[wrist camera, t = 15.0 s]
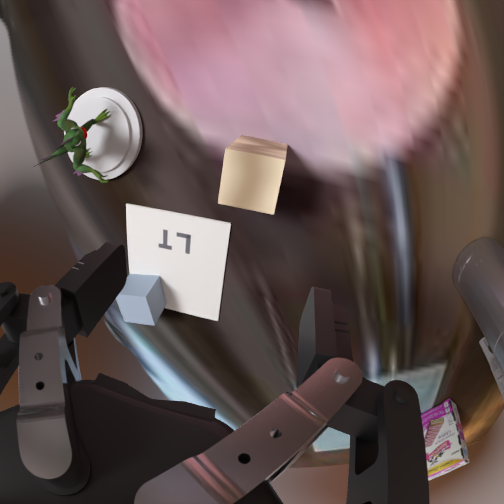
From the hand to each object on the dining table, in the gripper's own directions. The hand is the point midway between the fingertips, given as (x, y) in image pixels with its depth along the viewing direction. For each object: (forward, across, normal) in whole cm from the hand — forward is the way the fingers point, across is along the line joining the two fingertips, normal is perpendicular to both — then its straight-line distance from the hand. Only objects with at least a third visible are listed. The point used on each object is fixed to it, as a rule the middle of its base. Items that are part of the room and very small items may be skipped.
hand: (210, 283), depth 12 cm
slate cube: (+23, +14, +21) cm, 34 cm away
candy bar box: (+24, -47, +44) cm, 68 cm away
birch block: (+23, +1, 0) cm, 23 cm away
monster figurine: (+23, +21, -1) cm, 31 cm away
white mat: (+23, +10, +16) cm, 30 cm away
